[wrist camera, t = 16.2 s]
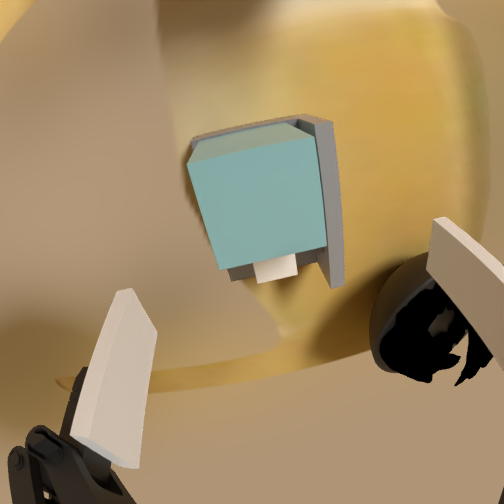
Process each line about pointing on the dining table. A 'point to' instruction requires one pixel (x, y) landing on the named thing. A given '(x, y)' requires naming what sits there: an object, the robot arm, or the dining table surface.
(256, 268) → the plain button
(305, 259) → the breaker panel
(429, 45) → the dining table surface
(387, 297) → the bowl of black rocks
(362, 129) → the dining table surface
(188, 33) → the dining table surface
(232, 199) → the cover
